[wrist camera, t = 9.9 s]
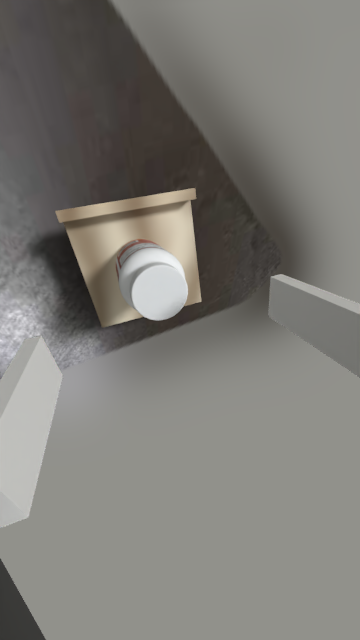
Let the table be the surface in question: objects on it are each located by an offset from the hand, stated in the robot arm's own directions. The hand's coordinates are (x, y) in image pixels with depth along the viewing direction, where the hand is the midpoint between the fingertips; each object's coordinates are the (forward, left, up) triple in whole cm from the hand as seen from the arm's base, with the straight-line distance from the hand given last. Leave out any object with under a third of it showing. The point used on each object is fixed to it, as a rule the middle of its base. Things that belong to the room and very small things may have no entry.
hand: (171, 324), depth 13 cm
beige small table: (+1, 0, -23) cm, 23 cm away
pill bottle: (0, 0, -17) cm, 17 cm away
